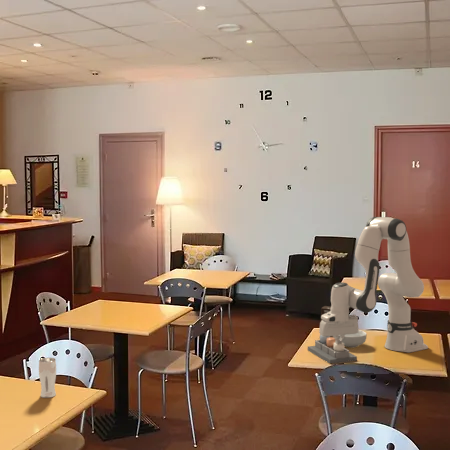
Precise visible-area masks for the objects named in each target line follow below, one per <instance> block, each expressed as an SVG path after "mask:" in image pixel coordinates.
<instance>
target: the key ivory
mask: <svg viewBox="0 0 450 450" xmlns="http://www.w3.org/2000/svg"><path fill="white" fill-rule="evenodd" d="M344 348H345V346H344V343H342V344H336V343H334V351H336V352H341V351H344Z"/></svg>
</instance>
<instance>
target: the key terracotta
mask: <svg viewBox="0 0 450 450" xmlns="http://www.w3.org/2000/svg"><path fill="white" fill-rule="evenodd" d="M334 343H335V339H334V338H333V337H329V338H327V347H329V348H333V347H334Z"/></svg>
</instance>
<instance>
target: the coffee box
mask: <svg viewBox="0 0 450 450" xmlns="http://www.w3.org/2000/svg"><path fill="white" fill-rule="evenodd" d="M330 311H331V306H327V305H324V306H322V307H321V309H320V317H321V316H322V315H323V314H326V313H328V312H330ZM321 321H322V319H321V318H320V322H321ZM330 337H333V336H330ZM333 338H334V337H333Z"/></svg>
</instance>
